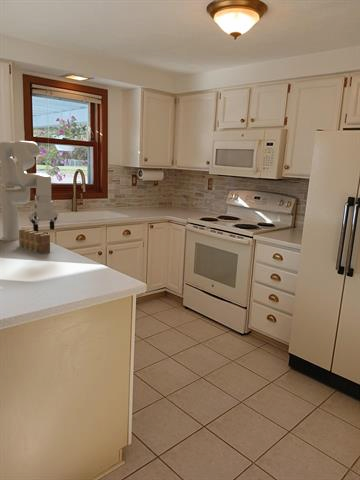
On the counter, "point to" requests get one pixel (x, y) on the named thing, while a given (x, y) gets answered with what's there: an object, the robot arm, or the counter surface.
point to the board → (32, 250)
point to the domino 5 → (44, 243)
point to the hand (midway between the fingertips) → (44, 230)
